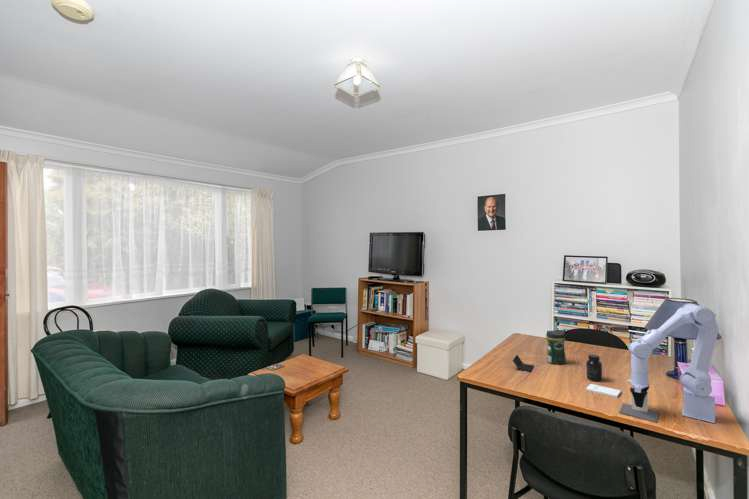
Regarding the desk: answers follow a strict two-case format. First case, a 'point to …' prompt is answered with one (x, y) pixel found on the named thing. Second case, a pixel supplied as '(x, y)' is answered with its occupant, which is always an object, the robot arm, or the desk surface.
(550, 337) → the coffee jar
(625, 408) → the mat
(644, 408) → the slab
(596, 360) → the supplement bottle
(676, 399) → the desk surface
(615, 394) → the external hard drive
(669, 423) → the desk surface
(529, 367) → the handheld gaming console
